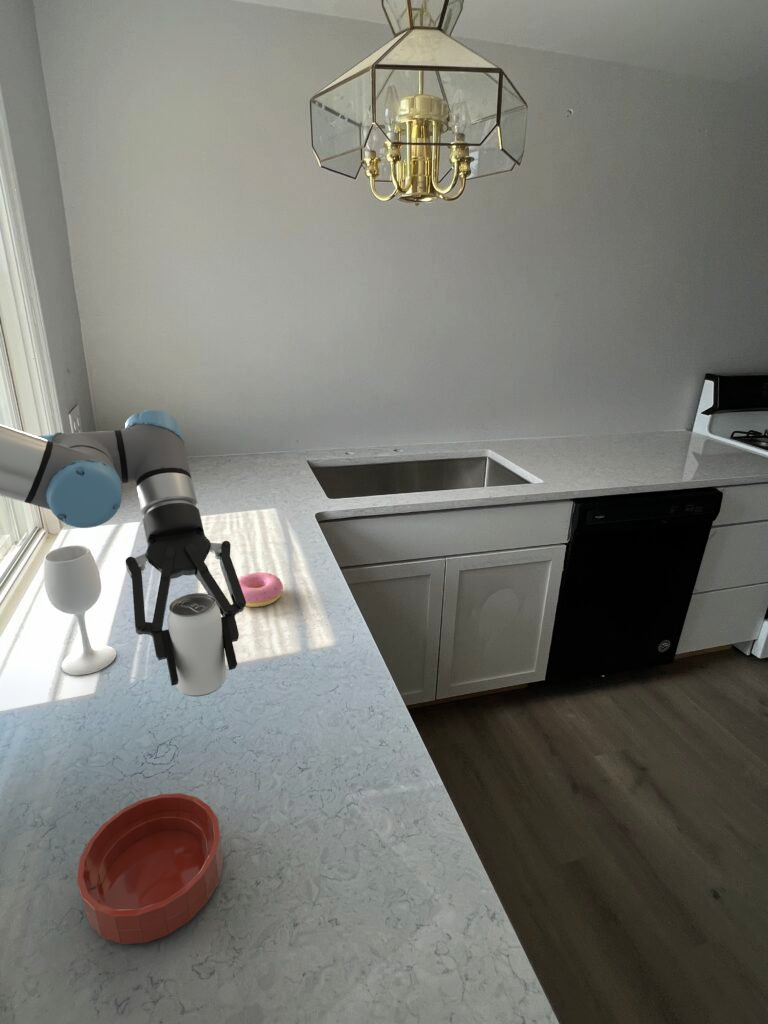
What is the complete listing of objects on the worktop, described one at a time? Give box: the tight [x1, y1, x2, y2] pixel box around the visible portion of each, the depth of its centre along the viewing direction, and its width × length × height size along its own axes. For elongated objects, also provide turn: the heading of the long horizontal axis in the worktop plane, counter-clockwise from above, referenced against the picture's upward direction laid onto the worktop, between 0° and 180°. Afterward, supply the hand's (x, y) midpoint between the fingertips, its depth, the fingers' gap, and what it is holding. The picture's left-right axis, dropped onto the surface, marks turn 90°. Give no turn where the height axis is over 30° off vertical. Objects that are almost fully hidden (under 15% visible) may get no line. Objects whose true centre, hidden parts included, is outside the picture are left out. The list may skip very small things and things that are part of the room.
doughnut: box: [238, 572, 284, 608], centre depth 120 cm, size 11×11×4 cm
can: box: [167, 592, 228, 698], centre depth 72 cm, size 6×6×12 cm
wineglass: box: [43, 545, 117, 676], centre depth 95 cm, size 9×9×21 cm
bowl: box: [76, 792, 224, 945], centre depth 61 cm, size 14×14×5 cm
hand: (204, 674), depth 70 cm, fingers closed on can, 6 cm apart
